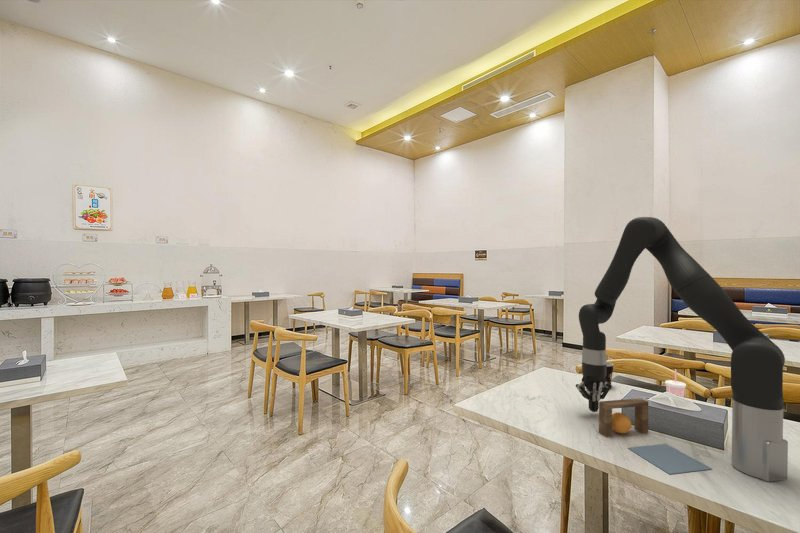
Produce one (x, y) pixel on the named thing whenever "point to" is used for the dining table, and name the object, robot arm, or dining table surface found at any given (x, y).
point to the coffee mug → (609, 372)
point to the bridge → (607, 407)
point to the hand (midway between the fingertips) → (593, 411)
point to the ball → (620, 423)
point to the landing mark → (669, 459)
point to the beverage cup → (675, 386)
